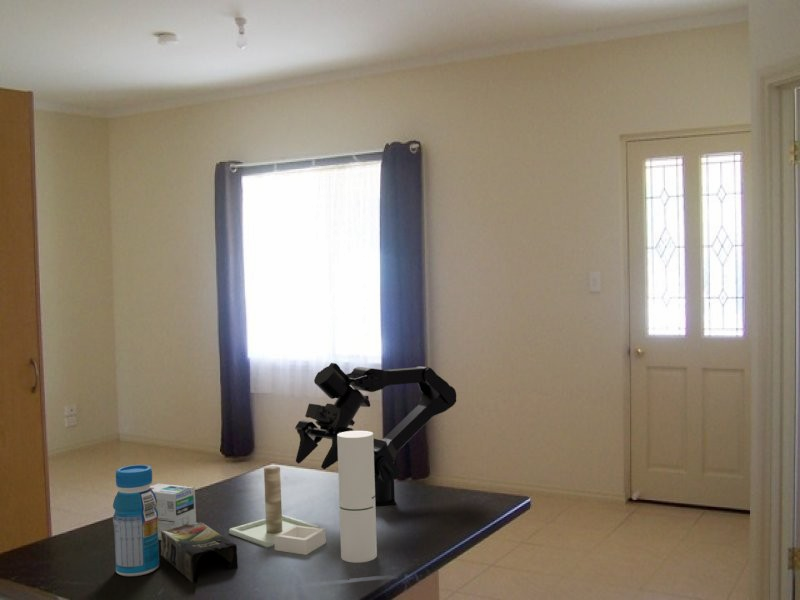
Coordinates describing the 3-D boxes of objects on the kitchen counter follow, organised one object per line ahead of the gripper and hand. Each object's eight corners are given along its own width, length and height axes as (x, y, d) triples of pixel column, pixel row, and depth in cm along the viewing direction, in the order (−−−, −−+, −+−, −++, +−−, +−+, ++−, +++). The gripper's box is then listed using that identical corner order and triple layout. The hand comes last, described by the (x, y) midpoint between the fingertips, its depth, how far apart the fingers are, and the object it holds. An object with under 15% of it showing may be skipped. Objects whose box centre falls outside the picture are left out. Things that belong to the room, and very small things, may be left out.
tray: (281, 520, 183) (281, 514, 183) (319, 533, 173) (319, 526, 173) (229, 536, 173) (229, 528, 173) (266, 550, 164) (266, 542, 163)
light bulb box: (197, 534, 176) (196, 486, 175) (177, 543, 170) (175, 493, 169) (160, 528, 180) (158, 482, 180) (139, 538, 174) (137, 489, 174)
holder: (295, 541, 169) (294, 525, 169) (325, 545, 165) (325, 528, 165) (274, 552, 162) (274, 535, 162) (306, 557, 158) (305, 540, 158)
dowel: (284, 528, 175) (282, 466, 174) (279, 533, 171) (277, 470, 171) (269, 528, 175) (266, 466, 175) (264, 533, 172) (261, 469, 171)
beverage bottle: (116, 580, 149) (112, 475, 148) (113, 566, 157) (109, 466, 156) (162, 573, 152) (158, 470, 152) (157, 559, 160) (153, 461, 160)
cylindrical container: (382, 554, 159) (378, 431, 158) (369, 566, 152) (365, 438, 152) (349, 551, 161) (345, 430, 161) (335, 563, 155) (331, 436, 154)
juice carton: (157, 555, 163) (156, 526, 163) (202, 545, 169) (202, 517, 168) (190, 586, 147) (189, 553, 146) (240, 573, 152) (239, 542, 152)
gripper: (299, 387, 191) (264, 440, 184) (351, 393, 178) (315, 450, 171) (325, 414, 197) (292, 467, 189) (377, 422, 184) (344, 479, 176)
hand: (309, 465), depth 181 cm, fingers open, 9 cm apart
